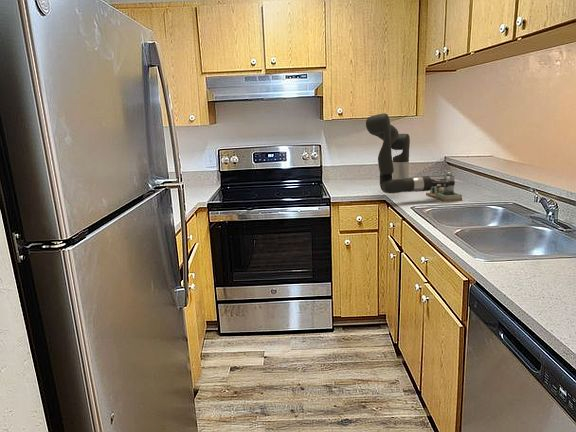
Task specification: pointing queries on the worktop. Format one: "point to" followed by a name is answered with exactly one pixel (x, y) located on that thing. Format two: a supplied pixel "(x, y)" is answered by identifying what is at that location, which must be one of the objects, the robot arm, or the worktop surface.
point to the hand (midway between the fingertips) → (450, 181)
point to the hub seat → (449, 196)
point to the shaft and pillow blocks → (437, 190)
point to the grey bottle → (449, 189)
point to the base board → (441, 198)
